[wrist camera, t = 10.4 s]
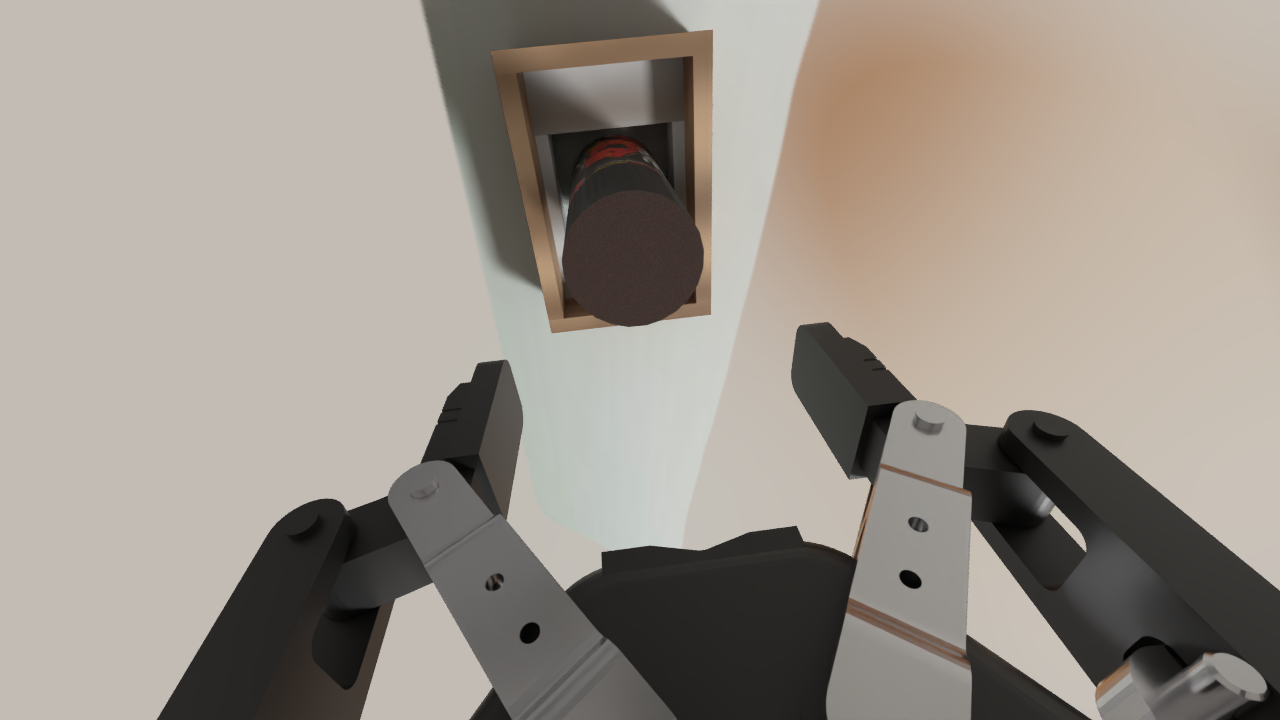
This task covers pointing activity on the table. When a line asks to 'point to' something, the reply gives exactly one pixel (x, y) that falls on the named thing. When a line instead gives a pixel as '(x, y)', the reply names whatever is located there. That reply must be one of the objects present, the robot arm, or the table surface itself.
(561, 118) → the light wooden box
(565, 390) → the table surface
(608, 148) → the deodorant
